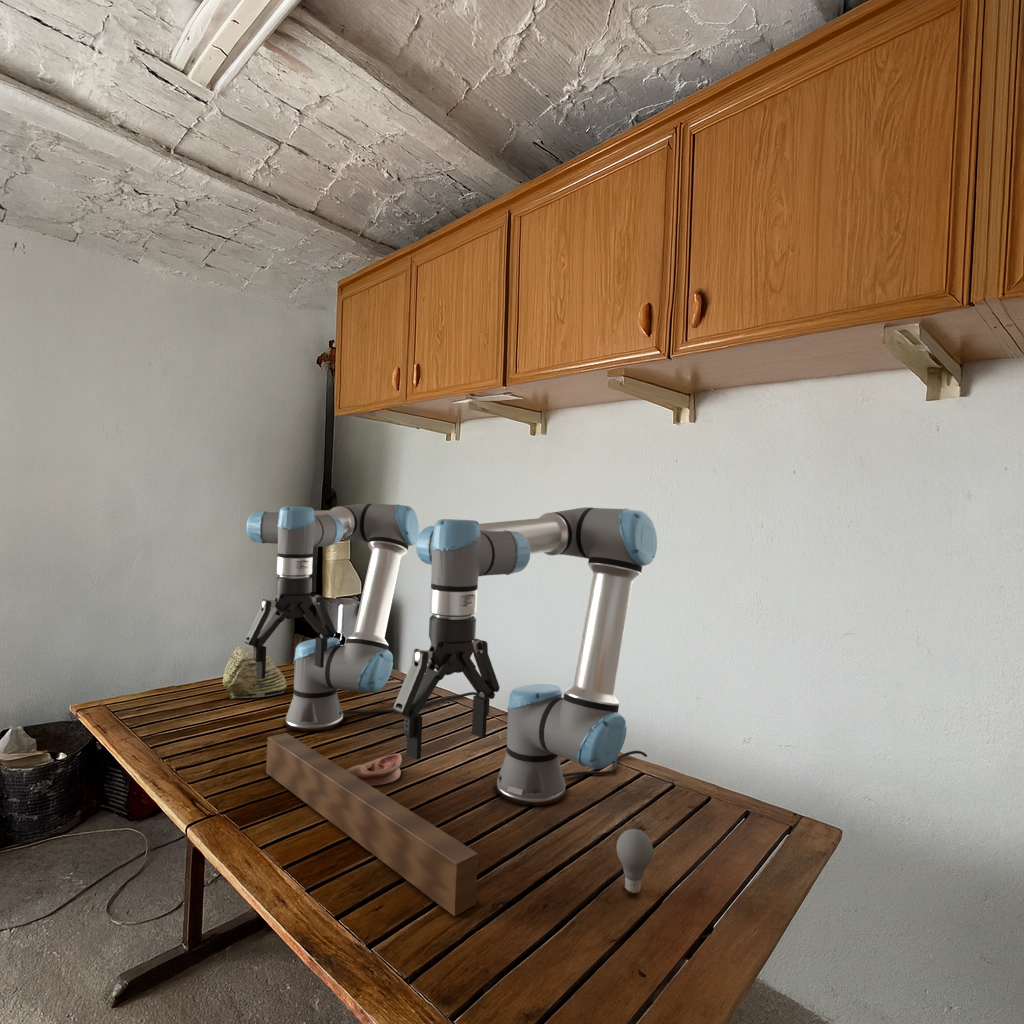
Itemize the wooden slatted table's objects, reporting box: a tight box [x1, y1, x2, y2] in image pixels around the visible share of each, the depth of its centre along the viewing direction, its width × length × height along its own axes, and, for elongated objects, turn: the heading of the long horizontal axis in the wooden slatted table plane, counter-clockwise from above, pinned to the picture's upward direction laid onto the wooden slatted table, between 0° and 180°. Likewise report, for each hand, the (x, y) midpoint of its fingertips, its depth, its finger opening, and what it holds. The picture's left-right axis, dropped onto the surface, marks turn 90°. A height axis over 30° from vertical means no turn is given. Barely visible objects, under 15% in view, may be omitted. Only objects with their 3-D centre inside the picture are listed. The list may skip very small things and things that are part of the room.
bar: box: [265, 732, 479, 917], centre depth 122 cm, size 66×4×8 cm, turn 45°
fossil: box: [222, 646, 288, 699], centre depth 198 cm, size 9×18×15 cm, turn 132°
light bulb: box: [615, 828, 654, 894], centre depth 106 cm, size 6×6×10 cm
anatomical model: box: [345, 753, 403, 787], centre depth 144 cm, size 13×4×12 cm
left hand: (290, 671), depth 141 cm, fingers open, 13 cm apart
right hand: (447, 745), depth 102 cm, fingers open, 13 cm apart
